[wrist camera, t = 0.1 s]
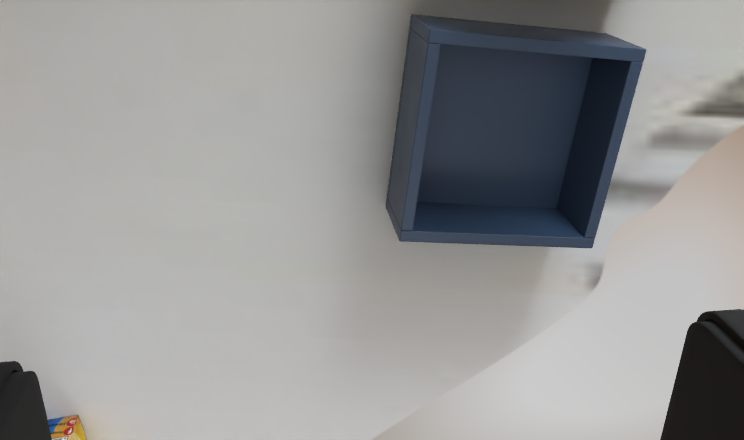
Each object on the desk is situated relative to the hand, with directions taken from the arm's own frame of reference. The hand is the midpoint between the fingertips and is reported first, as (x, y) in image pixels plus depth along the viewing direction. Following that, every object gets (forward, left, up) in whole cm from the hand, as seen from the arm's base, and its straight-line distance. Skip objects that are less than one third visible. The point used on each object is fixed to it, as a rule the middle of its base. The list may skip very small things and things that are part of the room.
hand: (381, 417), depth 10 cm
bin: (+14, +7, -37) cm, 41 cm away
